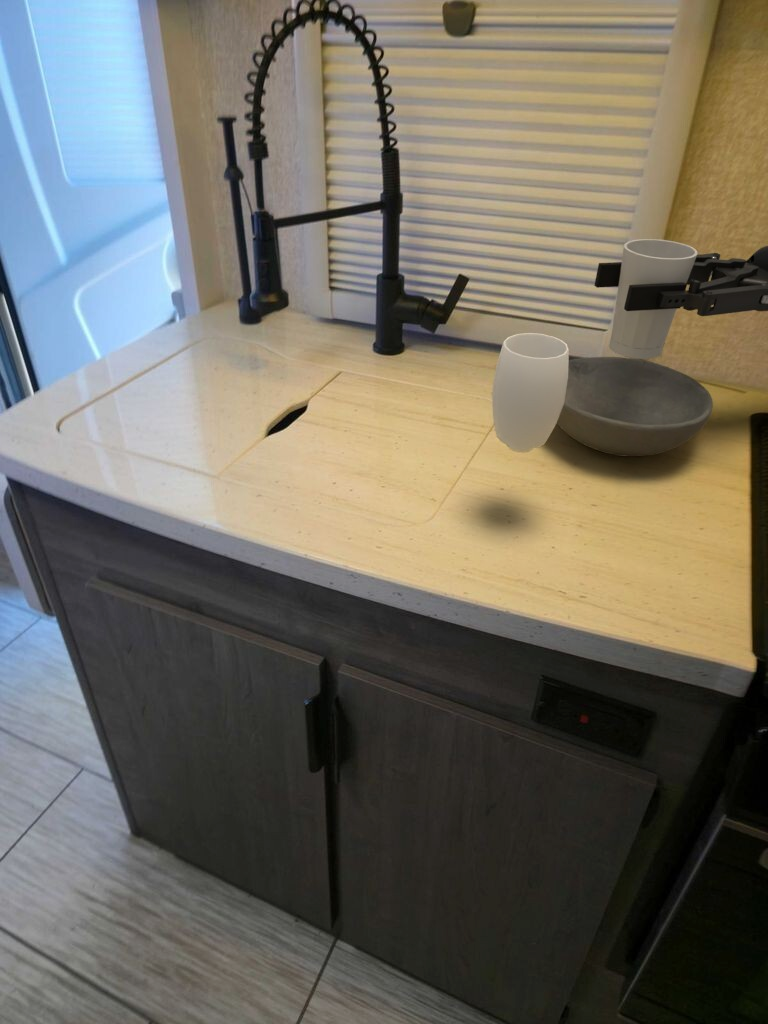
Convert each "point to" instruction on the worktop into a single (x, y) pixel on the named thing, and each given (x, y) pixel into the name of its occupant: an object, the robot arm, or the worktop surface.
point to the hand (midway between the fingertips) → (612, 286)
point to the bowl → (631, 406)
